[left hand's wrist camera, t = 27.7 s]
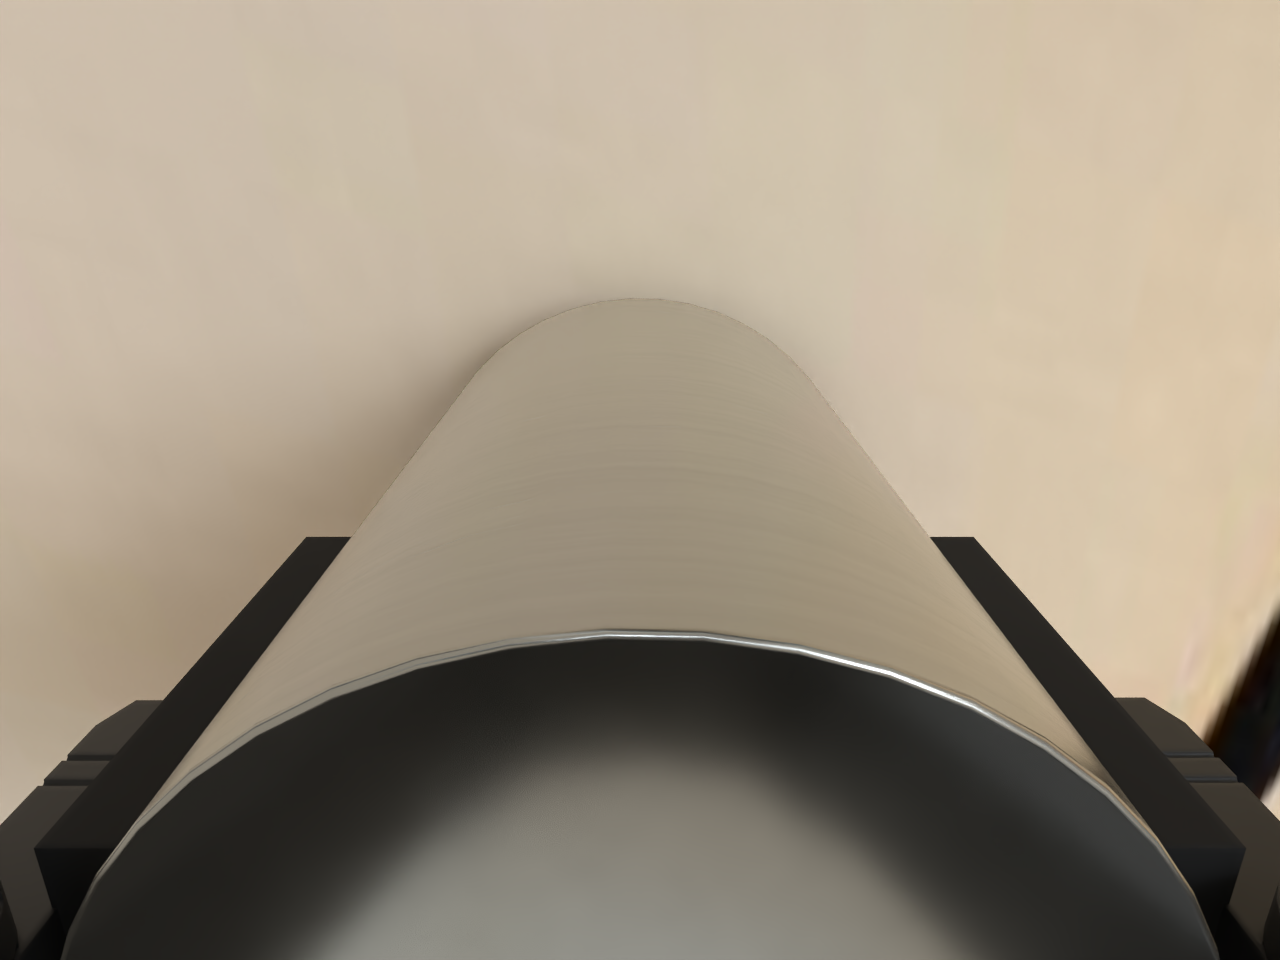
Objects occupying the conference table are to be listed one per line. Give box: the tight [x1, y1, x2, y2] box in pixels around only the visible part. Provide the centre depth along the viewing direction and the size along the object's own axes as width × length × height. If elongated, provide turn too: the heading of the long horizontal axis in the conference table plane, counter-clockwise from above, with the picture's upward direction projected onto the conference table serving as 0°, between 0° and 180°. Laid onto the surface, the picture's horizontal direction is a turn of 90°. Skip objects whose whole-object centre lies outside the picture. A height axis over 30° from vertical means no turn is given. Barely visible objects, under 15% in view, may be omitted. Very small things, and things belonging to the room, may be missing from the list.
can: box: [60, 299, 1220, 960], centre depth 13 cm, size 9×9×13 cm
